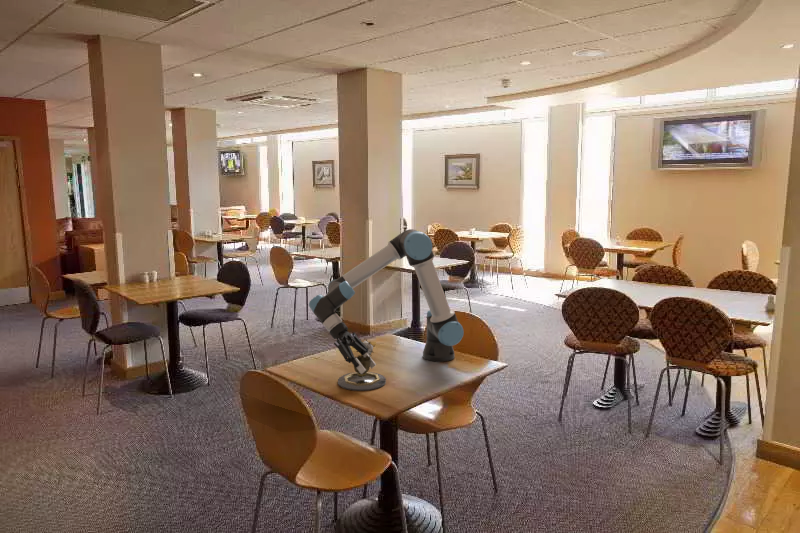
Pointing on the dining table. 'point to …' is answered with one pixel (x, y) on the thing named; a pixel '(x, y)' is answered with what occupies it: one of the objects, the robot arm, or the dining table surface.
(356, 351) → the game die
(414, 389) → the dining table surface
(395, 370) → the dining table surface
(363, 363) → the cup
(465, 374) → the dining table surface
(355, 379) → the carrier plate
